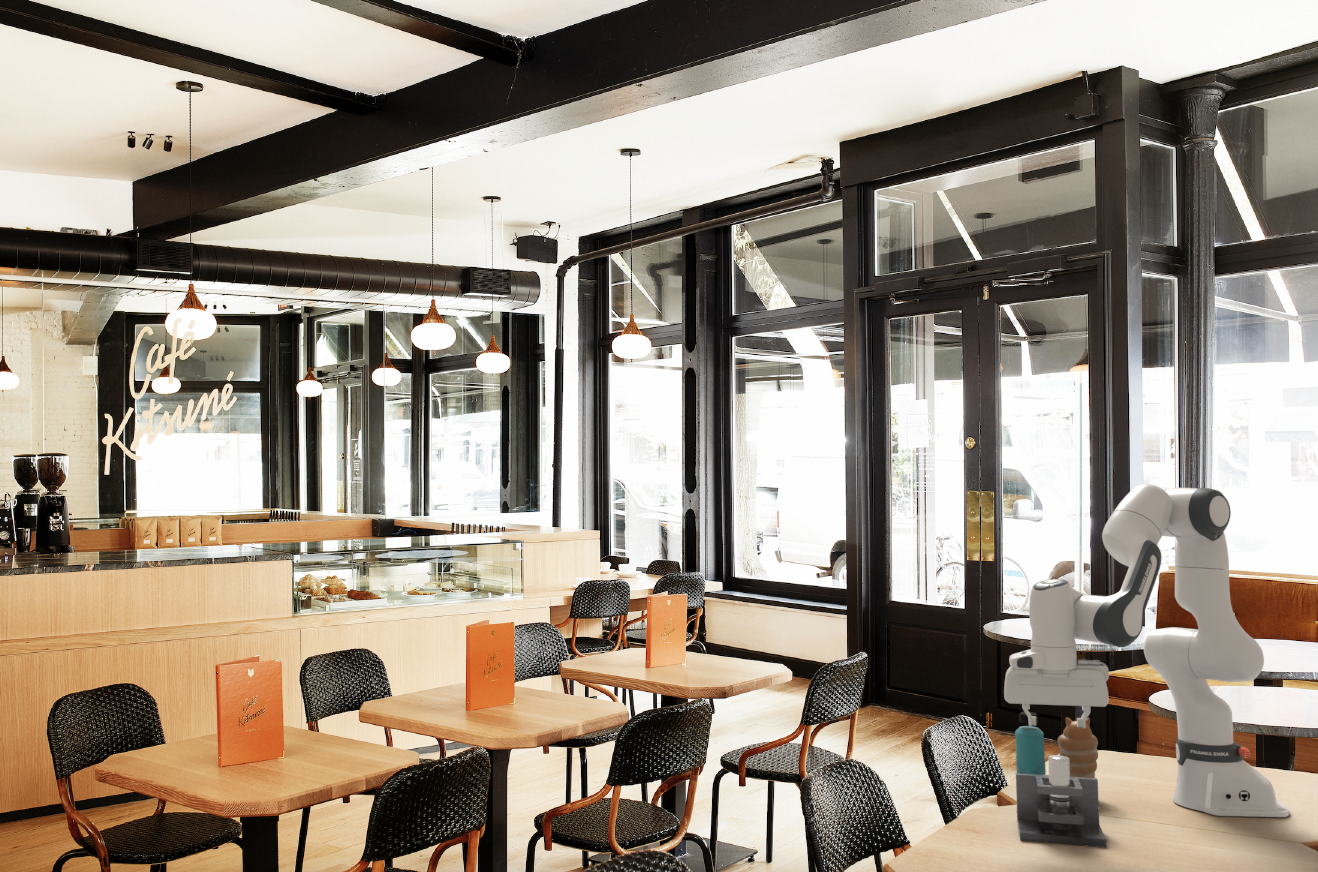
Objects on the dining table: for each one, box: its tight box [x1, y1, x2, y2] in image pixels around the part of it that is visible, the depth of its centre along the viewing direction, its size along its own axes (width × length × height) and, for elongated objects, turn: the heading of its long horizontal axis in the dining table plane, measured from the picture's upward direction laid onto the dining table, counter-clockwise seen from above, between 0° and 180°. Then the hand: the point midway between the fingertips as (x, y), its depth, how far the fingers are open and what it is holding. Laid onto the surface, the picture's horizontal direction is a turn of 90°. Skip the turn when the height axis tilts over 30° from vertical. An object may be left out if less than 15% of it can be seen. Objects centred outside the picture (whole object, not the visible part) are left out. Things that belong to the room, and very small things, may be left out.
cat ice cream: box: [1057, 716, 1099, 778], centre depth 237 cm, size 9×8×18 cm
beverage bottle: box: [1014, 711, 1047, 775], centre depth 233 cm, size 6×7×20 cm
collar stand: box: [1015, 772, 1107, 848], centre depth 209 cm, size 16×12×10 cm
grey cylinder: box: [1048, 754, 1071, 830], centre depth 209 cm, size 4×4×14 cm
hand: (1056, 726), depth 210 cm, fingers open, 8 cm apart
